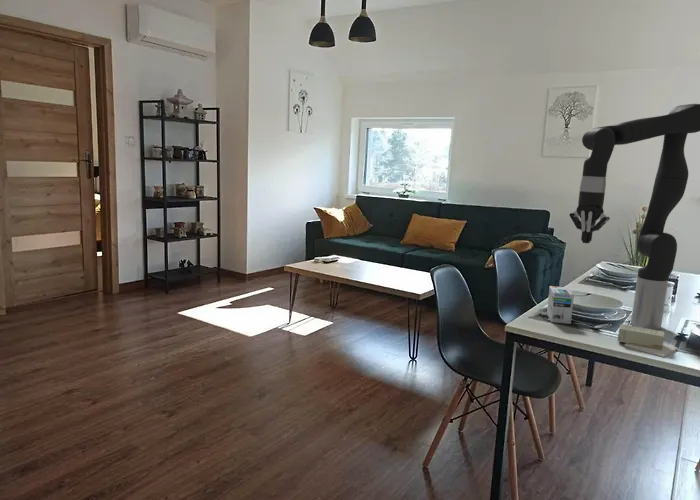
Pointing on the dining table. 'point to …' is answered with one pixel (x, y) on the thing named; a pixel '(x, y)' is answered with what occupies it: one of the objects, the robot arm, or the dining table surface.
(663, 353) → the grey mat
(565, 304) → the light bulb box
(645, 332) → the skincare box
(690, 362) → the dining table surface
